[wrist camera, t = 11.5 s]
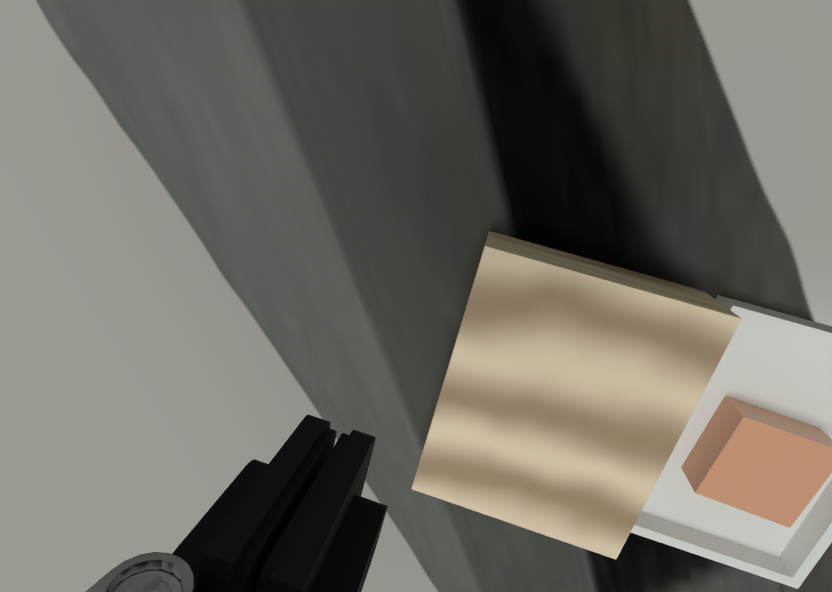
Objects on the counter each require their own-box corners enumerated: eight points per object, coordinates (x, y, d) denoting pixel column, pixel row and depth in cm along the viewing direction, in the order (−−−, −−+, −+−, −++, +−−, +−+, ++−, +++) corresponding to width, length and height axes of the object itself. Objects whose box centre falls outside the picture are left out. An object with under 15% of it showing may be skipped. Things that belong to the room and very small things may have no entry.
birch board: (488, 230, 35) (484, 246, 30) (703, 290, 34) (741, 318, 28) (424, 443, 42) (411, 489, 36) (601, 502, 40) (616, 559, 35)
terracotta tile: (846, 452, 32) (819, 428, 35) (743, 416, 32) (725, 395, 35) (790, 528, 34) (768, 499, 37) (694, 492, 35) (681, 467, 37)
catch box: (717, 294, 34) (732, 305, 31) (924, 352, 32) (956, 368, 30) (612, 506, 40) (619, 528, 38) (780, 562, 39) (797, 588, 36)
